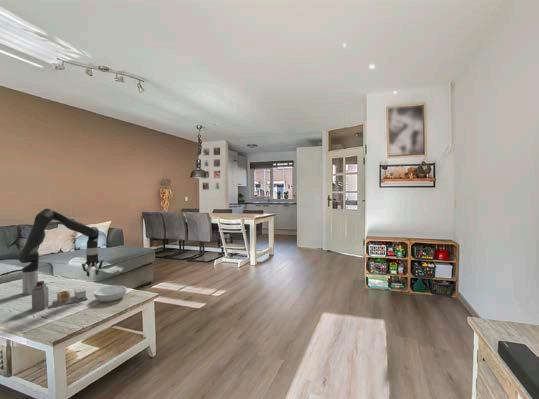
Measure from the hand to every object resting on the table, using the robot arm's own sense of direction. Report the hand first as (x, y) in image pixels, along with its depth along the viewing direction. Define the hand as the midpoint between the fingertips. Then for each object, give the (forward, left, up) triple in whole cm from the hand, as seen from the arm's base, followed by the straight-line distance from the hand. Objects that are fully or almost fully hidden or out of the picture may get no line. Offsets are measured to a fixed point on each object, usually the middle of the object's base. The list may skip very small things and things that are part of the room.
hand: (92, 275), depth 209 cm
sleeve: (0, -18, -14) cm, 23 cm away
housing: (0, -8, -14) cm, 16 cm away
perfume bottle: (+1, -31, -16) cm, 35 cm away
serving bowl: (+17, +7, -16) cm, 24 cm away
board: (0, -14, -15) cm, 21 cm away
